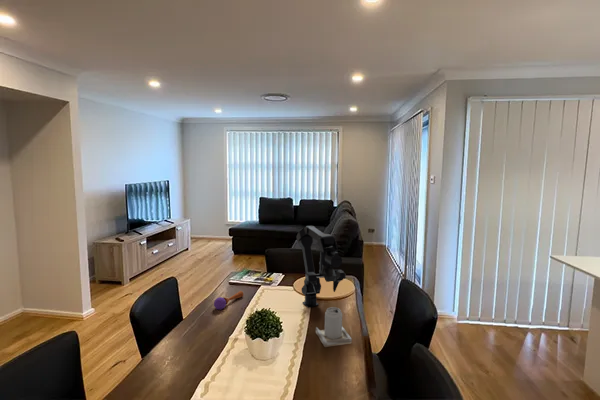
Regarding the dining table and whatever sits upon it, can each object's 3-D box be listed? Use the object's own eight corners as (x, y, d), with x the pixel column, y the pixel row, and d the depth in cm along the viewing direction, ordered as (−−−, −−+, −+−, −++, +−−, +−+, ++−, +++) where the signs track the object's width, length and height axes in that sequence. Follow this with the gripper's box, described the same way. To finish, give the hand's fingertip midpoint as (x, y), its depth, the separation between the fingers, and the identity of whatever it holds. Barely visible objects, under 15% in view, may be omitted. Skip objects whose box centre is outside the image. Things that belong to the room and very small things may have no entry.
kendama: (246, 291, 178) (221, 302, 161) (244, 301, 179) (219, 313, 161) (238, 287, 181) (212, 297, 163) (236, 296, 182) (210, 308, 164)
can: (343, 340, 137) (344, 313, 136) (326, 341, 136) (327, 314, 134) (339, 330, 145) (339, 305, 143) (322, 331, 143) (323, 306, 142)
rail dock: (315, 332, 144) (315, 327, 144) (340, 328, 147) (340, 324, 147) (324, 347, 133) (324, 342, 133) (351, 343, 136) (351, 338, 136)
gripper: (312, 268, 143) (311, 301, 145) (351, 265, 148) (349, 297, 150) (305, 260, 154) (304, 292, 156) (341, 258, 159) (340, 288, 161)
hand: (325, 292), depth 155 cm, fingers open, 9 cm apart
